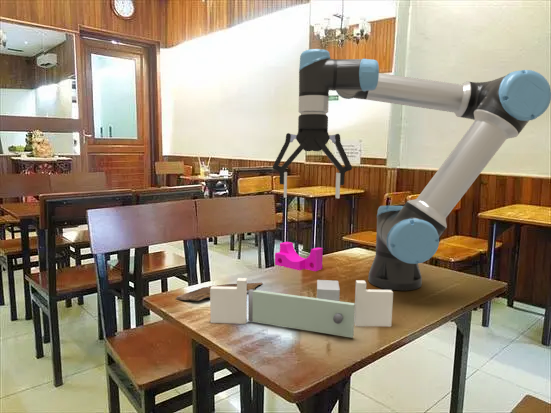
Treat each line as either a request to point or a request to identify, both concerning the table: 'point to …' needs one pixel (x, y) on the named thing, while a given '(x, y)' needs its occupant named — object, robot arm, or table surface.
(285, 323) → the spring door
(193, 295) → the wooden fragment
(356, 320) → the wall frame
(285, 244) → the magenta saddle bracket
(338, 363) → the table surface
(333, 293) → the white stepped block
